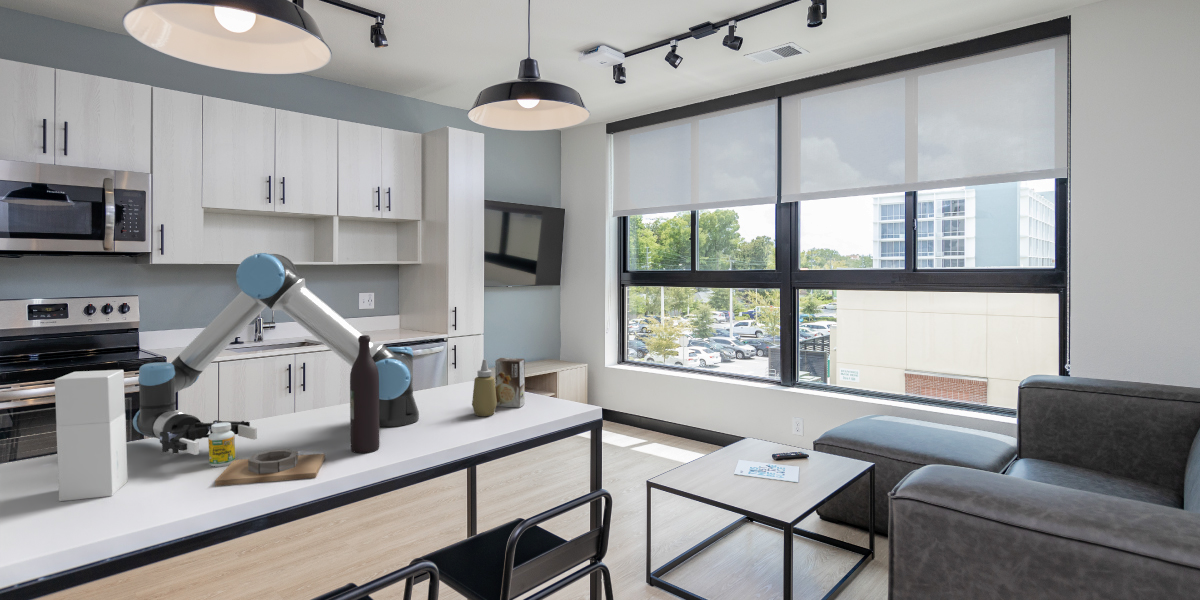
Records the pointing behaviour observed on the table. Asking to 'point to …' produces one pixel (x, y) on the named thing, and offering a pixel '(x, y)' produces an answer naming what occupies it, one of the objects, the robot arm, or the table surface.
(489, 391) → the squeeze bottle
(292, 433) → the table surface
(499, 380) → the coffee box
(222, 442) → the supplement bottle
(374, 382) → the wine bottle
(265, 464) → the board
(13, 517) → the table surface
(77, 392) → the tall white carton
